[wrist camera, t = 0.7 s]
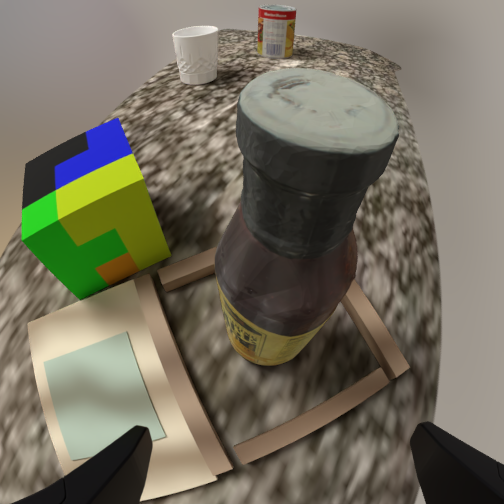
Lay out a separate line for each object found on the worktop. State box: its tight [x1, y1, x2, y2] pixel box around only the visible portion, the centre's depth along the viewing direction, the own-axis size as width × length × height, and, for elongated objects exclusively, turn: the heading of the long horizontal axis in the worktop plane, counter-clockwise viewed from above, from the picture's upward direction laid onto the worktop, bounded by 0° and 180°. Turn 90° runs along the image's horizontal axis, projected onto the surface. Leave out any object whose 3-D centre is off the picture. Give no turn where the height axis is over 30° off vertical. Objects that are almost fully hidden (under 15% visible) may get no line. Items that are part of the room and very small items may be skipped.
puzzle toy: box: [22, 118, 171, 300], centre depth 24 cm, size 10×10×10 cm
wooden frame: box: [28, 247, 410, 501], centre depth 21 cm, size 18×30×2 cm, turn 116°
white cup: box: [172, 26, 218, 85], centre depth 43 cm, size 8×8×10 cm
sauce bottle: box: [214, 68, 399, 366], centre depth 15 cm, size 6×6×20 cm
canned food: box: [257, 5, 296, 59], centre depth 51 cm, size 8×8×12 cm
